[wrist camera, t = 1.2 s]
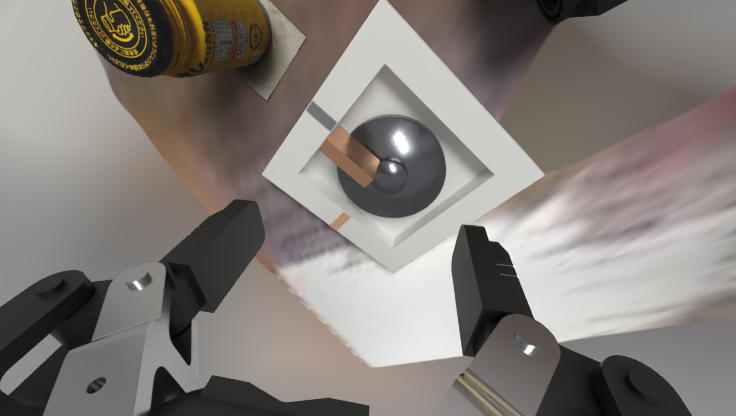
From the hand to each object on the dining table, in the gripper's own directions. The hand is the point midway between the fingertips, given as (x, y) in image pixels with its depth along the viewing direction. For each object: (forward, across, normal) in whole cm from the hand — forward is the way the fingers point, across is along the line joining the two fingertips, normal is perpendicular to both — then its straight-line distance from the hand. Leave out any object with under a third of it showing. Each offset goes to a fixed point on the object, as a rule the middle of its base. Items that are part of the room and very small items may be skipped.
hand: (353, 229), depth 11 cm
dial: (+18, 0, +6) cm, 19 cm away
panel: (+18, 0, +6) cm, 19 cm away
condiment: (+19, +14, -6) cm, 24 cm away
